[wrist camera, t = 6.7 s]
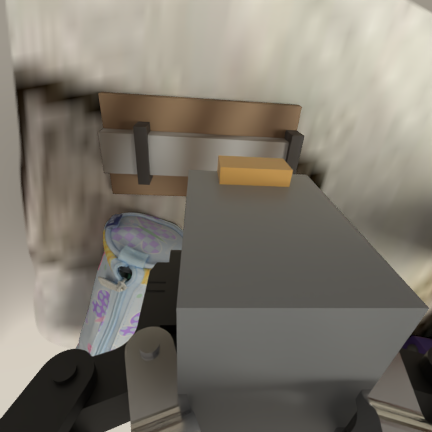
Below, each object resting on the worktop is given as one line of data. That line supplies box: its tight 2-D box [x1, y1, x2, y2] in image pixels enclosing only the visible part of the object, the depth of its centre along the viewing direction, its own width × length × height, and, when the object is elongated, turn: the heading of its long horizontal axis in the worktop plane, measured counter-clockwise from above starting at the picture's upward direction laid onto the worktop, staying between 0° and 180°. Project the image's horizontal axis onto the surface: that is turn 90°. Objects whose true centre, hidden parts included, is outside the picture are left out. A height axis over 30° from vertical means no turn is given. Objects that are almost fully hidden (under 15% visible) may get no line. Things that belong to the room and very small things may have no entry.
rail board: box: [98, 92, 304, 196], centre depth 24 cm, size 17×9×3 cm, turn 86°
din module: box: [176, 155, 429, 432], centre depth 9 cm, size 4×9×6 cm, turn 176°
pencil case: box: [76, 212, 183, 356], centre depth 29 cm, size 21×9×10 cm, turn 158°
